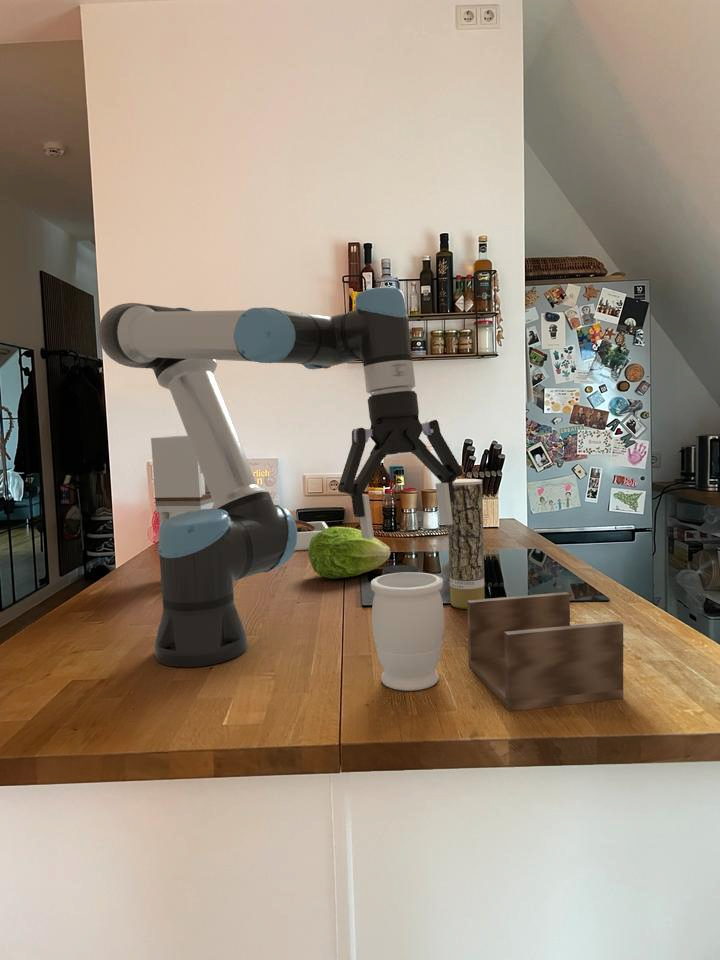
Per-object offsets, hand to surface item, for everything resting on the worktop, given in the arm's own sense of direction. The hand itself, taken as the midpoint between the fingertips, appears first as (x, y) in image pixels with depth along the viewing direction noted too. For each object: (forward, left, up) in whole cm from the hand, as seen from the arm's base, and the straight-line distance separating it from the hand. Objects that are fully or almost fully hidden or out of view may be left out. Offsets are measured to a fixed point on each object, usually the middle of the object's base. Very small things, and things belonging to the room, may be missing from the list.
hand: (408, 531), depth 105 cm
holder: (+16, -12, -21) cm, 29 cm away
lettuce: (0, +60, -21) cm, 64 cm away
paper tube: (+18, +27, -21) cm, 39 cm away
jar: (-2, -7, -21) cm, 22 cm away
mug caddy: (-9, +103, -21) cm, 106 cm away
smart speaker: (+9, +46, -21) cm, 52 cm away
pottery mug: (-10, +103, -21) cm, 106 cm away
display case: (-38, +65, -21) cm, 78 cm away
